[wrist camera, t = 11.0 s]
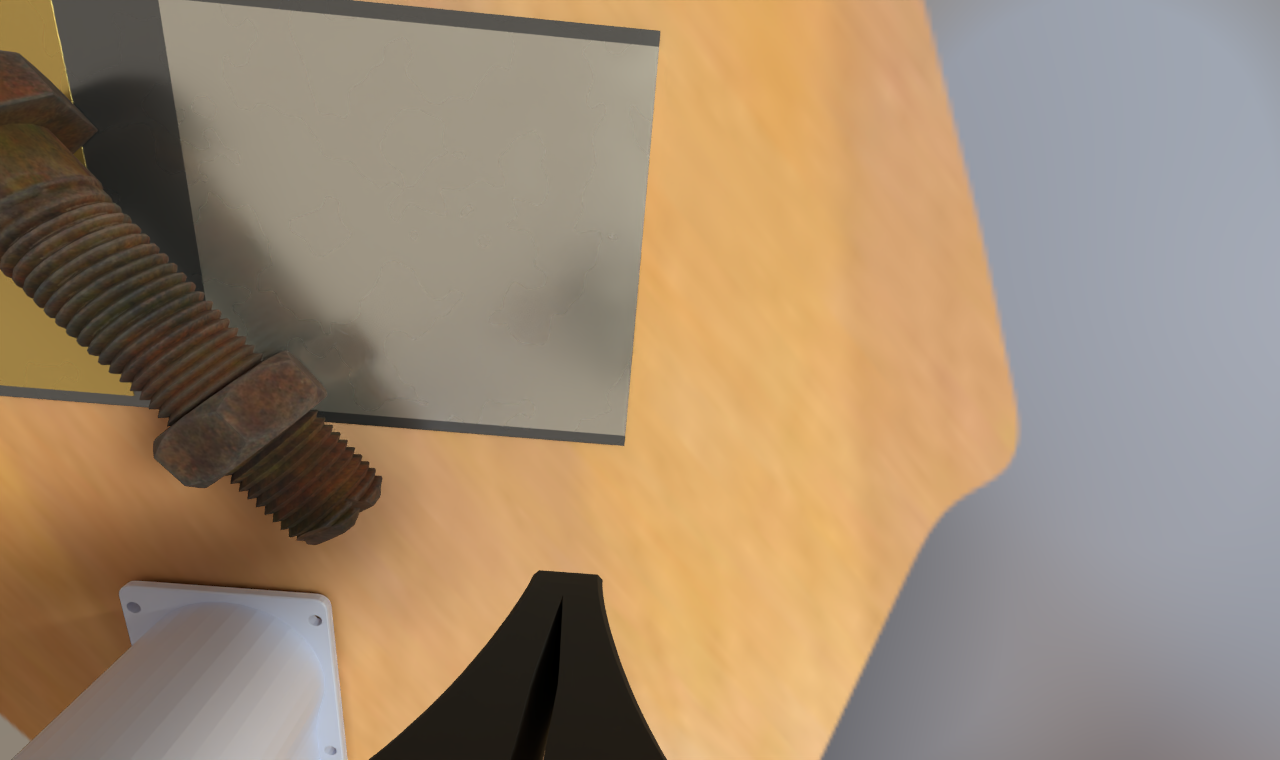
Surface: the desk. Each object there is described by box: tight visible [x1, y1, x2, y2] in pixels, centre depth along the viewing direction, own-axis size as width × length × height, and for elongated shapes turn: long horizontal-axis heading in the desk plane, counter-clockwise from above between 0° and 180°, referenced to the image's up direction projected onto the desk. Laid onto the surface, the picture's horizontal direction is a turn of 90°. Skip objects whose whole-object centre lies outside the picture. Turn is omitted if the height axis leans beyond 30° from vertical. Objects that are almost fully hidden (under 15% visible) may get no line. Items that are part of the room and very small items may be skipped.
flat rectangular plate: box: [0, 0, 660, 446], centre depth 19 cm, size 13×28×1 cm, turn 85°
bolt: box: [0, 50, 382, 545], centre depth 18 cm, size 6×5×15 cm
